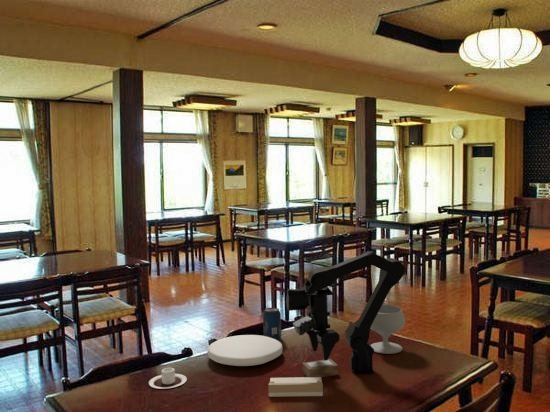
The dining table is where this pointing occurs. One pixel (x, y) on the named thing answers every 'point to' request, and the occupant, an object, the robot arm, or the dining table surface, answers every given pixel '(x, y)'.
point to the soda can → (272, 323)
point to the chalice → (388, 328)
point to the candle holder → (168, 378)
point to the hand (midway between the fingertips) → (320, 355)
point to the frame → (320, 368)
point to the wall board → (295, 386)
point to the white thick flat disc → (244, 350)
